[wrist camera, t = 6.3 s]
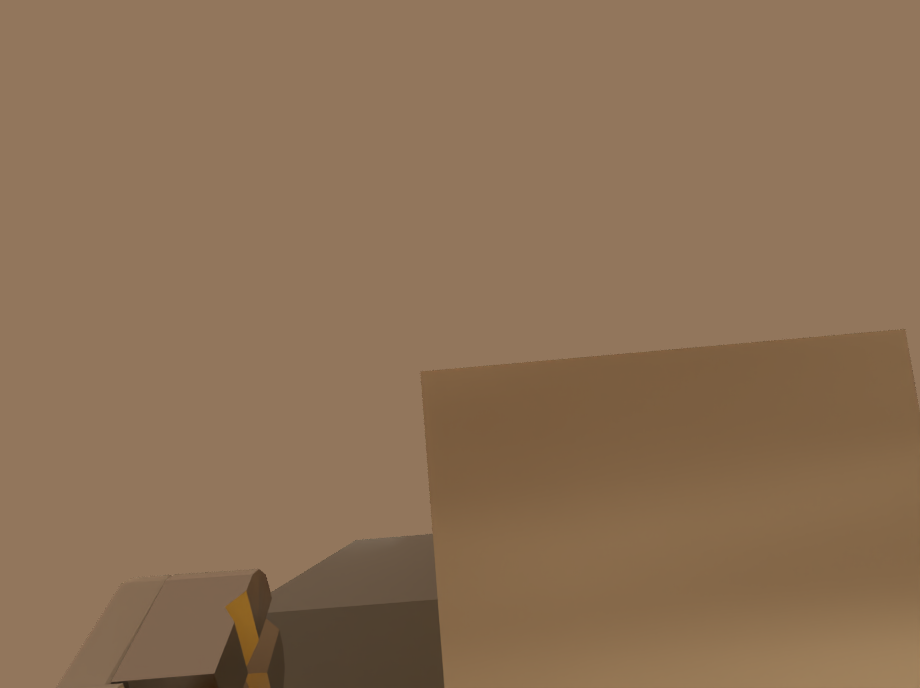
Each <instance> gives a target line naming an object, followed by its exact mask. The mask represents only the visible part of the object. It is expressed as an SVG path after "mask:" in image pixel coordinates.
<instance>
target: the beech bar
mask: <svg viewBox="0 0 920 688" xmlns="http://www.w3.org/2000/svg"><path fill="white" fill-rule="evenodd" d="M421 385H422V398H423V411H424V425H425V438H426V451H427V463H428V478H429V491H430V504H431V517H432V531H433V544H434V557H435V570H436V583H437V597H438V610H439V623H440V636H441V649H442V663H443V676H444V688H920V410H919V405H918V399H917V393H916V387H915V382H914V376H913V370H912V365H911V360H910V354H909V348H908V343H907V337H906V331H905V329H900V330H888V331H877V332H867V333H854V334H843V335H832V336H821V337H809V338H798V339H787V340H774V341H763V342H752V343H741V344H729V345H718V346H706V347H695V348H683V349H672V350H661V351H649V352H638V353H626V354H615V355H603V356H593V357H581V358H570V359H559V360H546V361H535V362H524V363H512V364H501V365H489V366H478V367H467V368H455V369H445V370H432V371H422V372H421Z"/></svg>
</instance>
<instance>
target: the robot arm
mask: <svg viewBox="0 0 920 688" xmlns="http://www.w3.org/2000/svg"><path fill="white" fill-rule="evenodd" d="M271 600H272V596H271V592H270V589H269V585H268V581H267V578H266V575H265V574H264V573H263V572H262V571H261V570H259V569H252V570H237V571H221V572H205V573H189V574H175V575H173V576H171V575H163V576H151V577H138V578H131V579H129V580H127V581H125V582H124V583H122V584H121V585H120V586H119V588H118V589H117V591H116V592H115V594H114V596H113V597H112V599H111V600H110V602H109V604H108V605H107V607H106V608H105V610H104V612H103V613H102V615H101V617H100V618H99V620H98V621H97V623H96V625H95V626H94V628H93V629H92V631H91V632H90V634H89V636H88V637H87V639H86V640H85V642H84V643H83V645H82V647H81V648H80V650H79V651H78V653H77V655H76V656H75V658H74V660H73V661H72V663H71V664H70V666H69V667H68V669H67V671H66V672H65V674H64V675H63V677H62V679H61V680H60V682H59V683H58V685H57V687H56V688H283V687H284V673H285V663H284V651H283V644H282V639H281V635H280V630H279V629H278V628H277V627H276V626H275V625H273V624H272V623H271V622H270V621H269V620H268V619H266V616H267V613H268V610H269V607H270V603H271Z"/></svg>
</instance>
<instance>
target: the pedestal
mask: <svg viewBox="0 0 920 688" xmlns="http://www.w3.org/2000/svg"><path fill="white" fill-rule="evenodd" d="M271 596H272V600H271V603H270V607H269V610H268V613H267V616H266V619H268V620H269V621H270V622H271V623H272V624H273V625H275V626H276V627H277V628H278V629H279V630H280V635H281V639H282V644H283V651H284V663H285V673H284V687H283V688H444V676H443V663H442V649H441V636H440V623H439V610H438V597H437V583H436V570H435V557H434V544H433V534H426V535H415V536H402V537H390V538H378V539H365V540H355V541H354V542H353V543H351V544H349V545H347V546H346V547H344V548H342V549H341V550H339V551H338V552H336V553H334V554H333V555H331V556H329V557H328V558H326V559H325V560H323V561H321V562H320V563H318V564H316V565H315V566H313V567H312V568H310V569H308V570H307V571H305V572H304V573H302V574H300V575H299V576H297V577H295V578H294V579H292V580H290V581H289V582H288V583H286V584H284V585H282V586H281V587H279V588H277V589H276V590H274V591H272V592H271Z"/></svg>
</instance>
